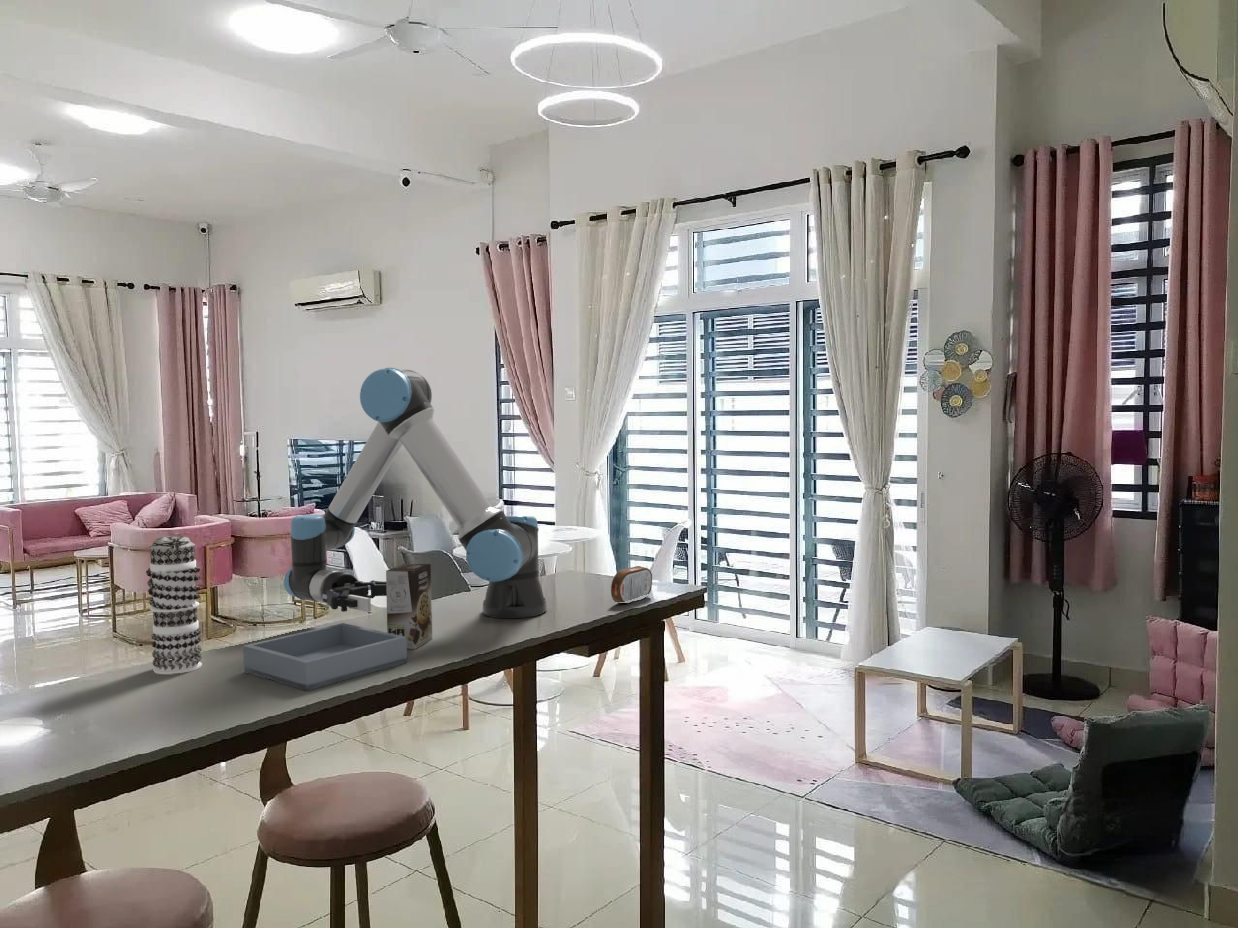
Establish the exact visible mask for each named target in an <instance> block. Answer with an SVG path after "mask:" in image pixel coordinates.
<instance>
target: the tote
mask: <svg viewBox="0 0 1238 928" xmlns="http://www.w3.org/2000/svg"><path fill="white" fill-rule="evenodd" d="M242 646H243V647H242V648H243V672H244V673H246V672H247V673H246V674H249V675H252V674H253V676H256V677H259V678H262V679H266V678H268V679H267V680H269V679H271V680H270V681H272V680H275V681H278V682H277V683H279V682H281V683H280V684H282V683H284V684H283V685H285V684H287V686H289V687H291V688H292V687H293V688H295V687H296V689H299V690H303V691H304V692H305V691H306V692H308V691H313V690H315V689H318V688H319V689H320V688H323V687H326V686H330V685H333V684H336V682H337V683H340V682H344V681H347V680H351V679H354V678H357V677H361V676H364V675H368V674H371V673H375V672H378V671H381V670H386V669H389V668H392V667H393V668H394V667H396V666H397V667H398V666H401V665H403V664H407V663H408V652H407V651H408V649H407V641H406V637H404V636H400V635H395V634H391V633H387V632H385V631H381V630H376V629H372V628H368V627H367V628H366V627H362V626H357V625H354V624H353V625H352V624H350V623H349V624H348V623H344V622H342V623H341V622H340V623H337V624H333V625H329V626H324V627H319V628H316V629H311V630H307V631H302V632H298V633H294V634H289V635H284V636H280V637H275V638H271V639H267V640H262V641H258V642H254V643H249V644H244V645H242ZM350 678H351V679H350ZM343 680H344V681H343ZM275 681H274V682H275Z"/></svg>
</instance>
